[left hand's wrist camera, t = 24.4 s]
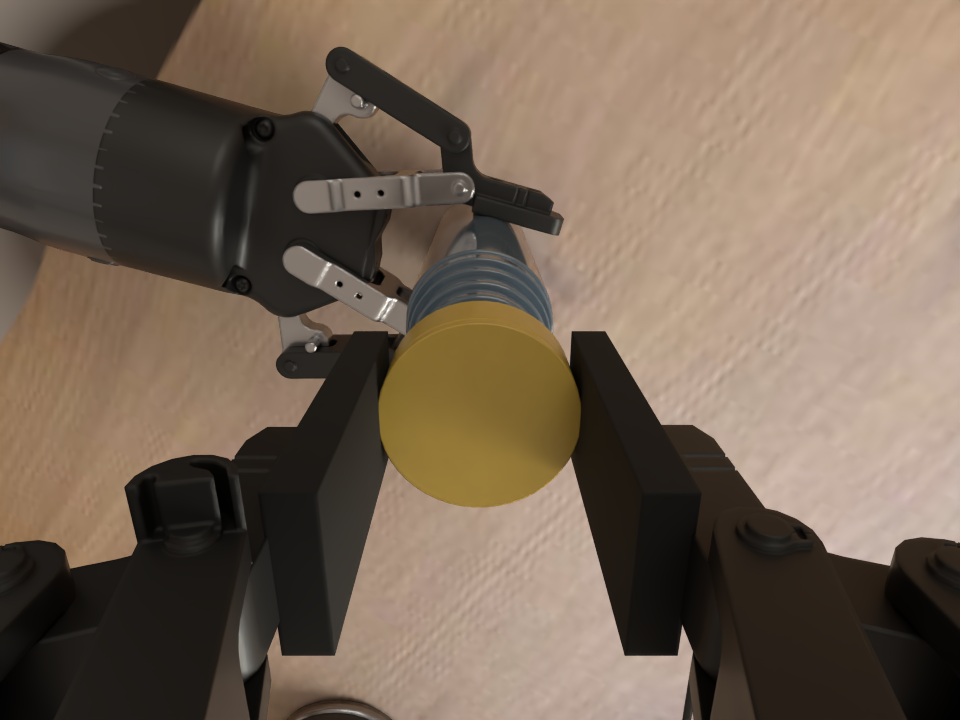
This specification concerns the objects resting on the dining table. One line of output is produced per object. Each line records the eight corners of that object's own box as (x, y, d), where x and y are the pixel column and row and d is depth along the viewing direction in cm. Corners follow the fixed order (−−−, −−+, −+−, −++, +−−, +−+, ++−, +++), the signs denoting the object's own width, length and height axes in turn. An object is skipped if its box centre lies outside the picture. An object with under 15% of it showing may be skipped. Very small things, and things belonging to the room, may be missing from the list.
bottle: (537, 255, 33) (616, 436, 14) (464, 296, 33) (444, 521, 15) (496, 178, 31) (520, 263, 12) (420, 223, 32) (335, 367, 13)
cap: (523, 266, 13) (529, 286, 12) (599, 424, 15) (613, 461, 13) (354, 349, 14) (338, 378, 12) (441, 492, 15) (436, 535, 14)
